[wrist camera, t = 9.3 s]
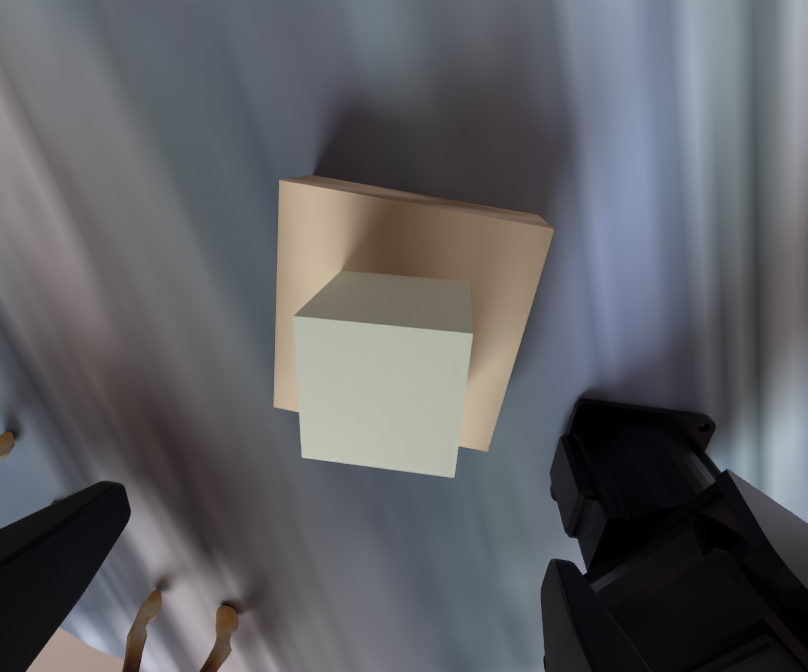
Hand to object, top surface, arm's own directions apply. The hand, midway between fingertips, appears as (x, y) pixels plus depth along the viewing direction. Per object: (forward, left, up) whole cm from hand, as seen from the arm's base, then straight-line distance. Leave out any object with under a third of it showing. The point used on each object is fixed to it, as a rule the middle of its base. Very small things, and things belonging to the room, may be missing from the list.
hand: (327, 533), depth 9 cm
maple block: (0, 0, -13) cm, 13 cm away
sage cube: (0, 0, -9) cm, 9 cm away
